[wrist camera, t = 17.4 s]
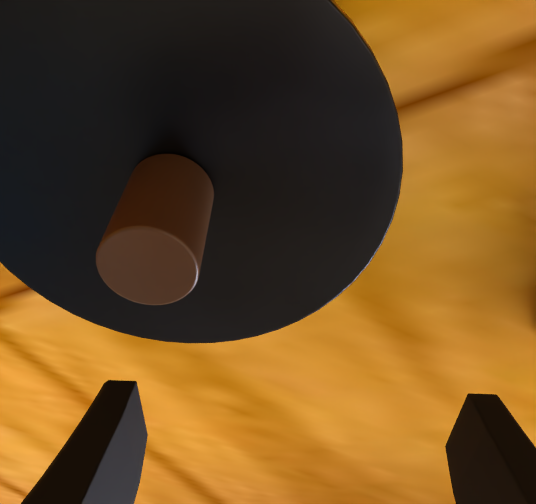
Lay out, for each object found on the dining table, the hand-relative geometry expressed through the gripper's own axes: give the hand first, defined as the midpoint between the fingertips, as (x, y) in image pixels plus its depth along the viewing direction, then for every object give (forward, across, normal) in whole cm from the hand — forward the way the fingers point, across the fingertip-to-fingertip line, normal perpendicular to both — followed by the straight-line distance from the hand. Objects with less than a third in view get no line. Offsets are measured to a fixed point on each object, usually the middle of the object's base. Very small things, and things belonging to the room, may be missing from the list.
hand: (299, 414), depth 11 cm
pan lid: (+6, +4, -2) cm, 8 cm away
